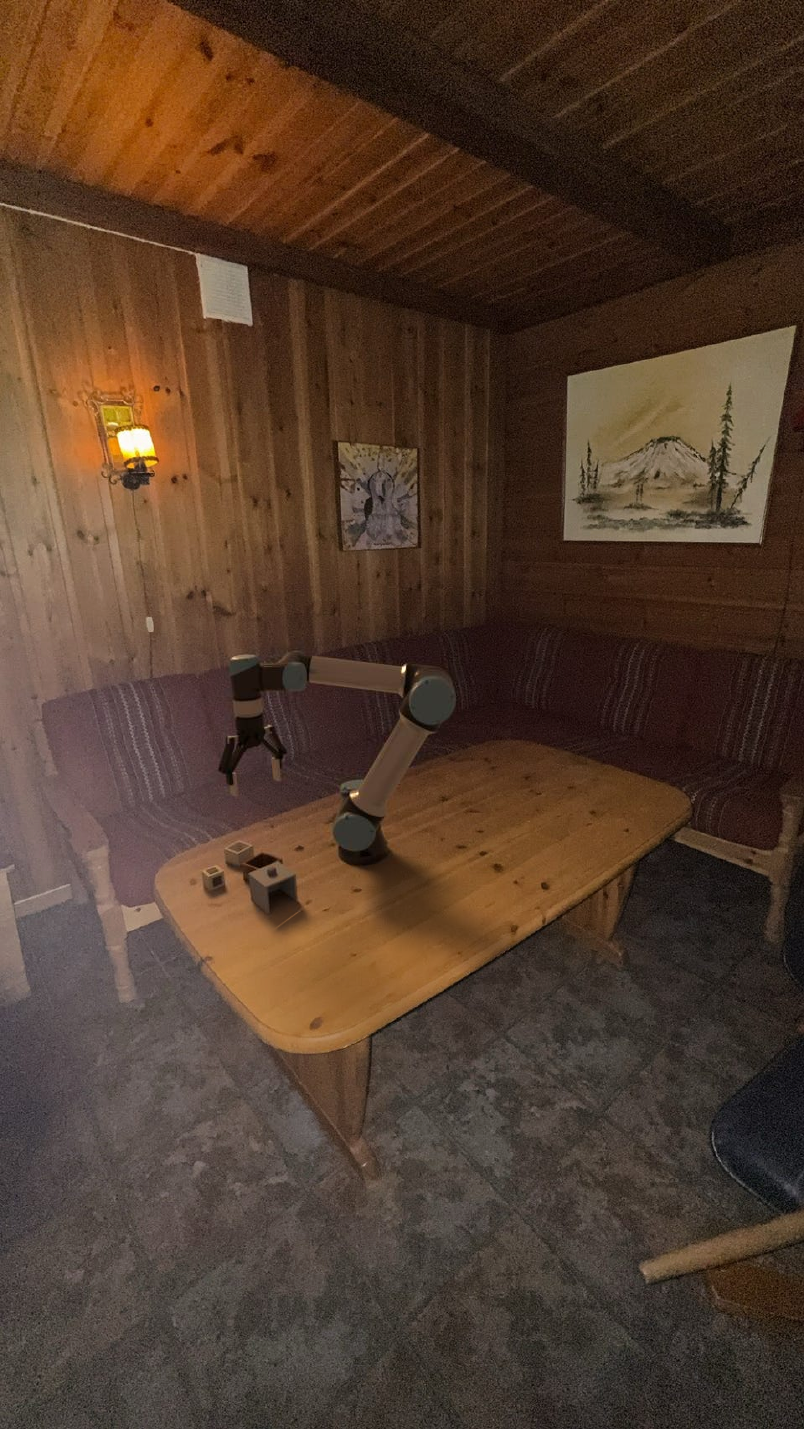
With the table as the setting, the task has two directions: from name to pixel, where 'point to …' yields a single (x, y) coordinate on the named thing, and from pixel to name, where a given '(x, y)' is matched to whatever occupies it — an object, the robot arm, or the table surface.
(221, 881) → the cream boxy hollow piece
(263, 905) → the cover
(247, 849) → the beige tub
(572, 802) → the table surface
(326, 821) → the table surface
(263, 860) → the walnut bin
